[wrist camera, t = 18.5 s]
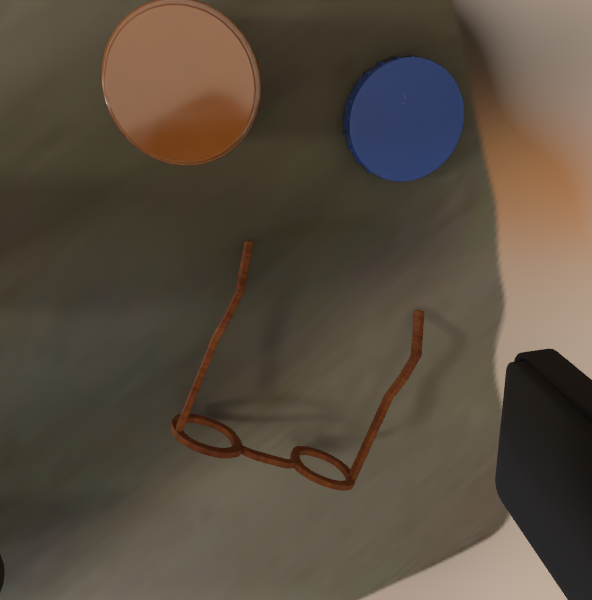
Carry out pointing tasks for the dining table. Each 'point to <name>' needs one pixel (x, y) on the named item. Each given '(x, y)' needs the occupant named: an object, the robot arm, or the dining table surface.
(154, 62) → the jar
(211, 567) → the dining table surface
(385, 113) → the lid
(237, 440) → the glasses
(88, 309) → the dining table surface
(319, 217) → the dining table surface
